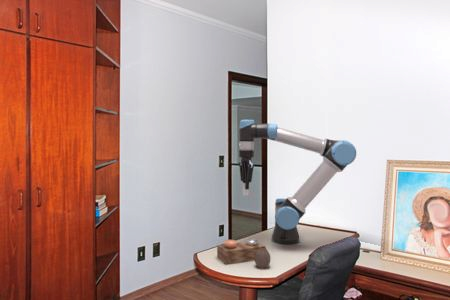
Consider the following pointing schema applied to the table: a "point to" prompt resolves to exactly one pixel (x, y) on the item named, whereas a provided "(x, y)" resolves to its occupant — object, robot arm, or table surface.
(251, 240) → the grey plunger
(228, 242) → the terracotta plunger
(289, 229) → the robot arm
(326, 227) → the table surface
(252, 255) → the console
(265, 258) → the vase
